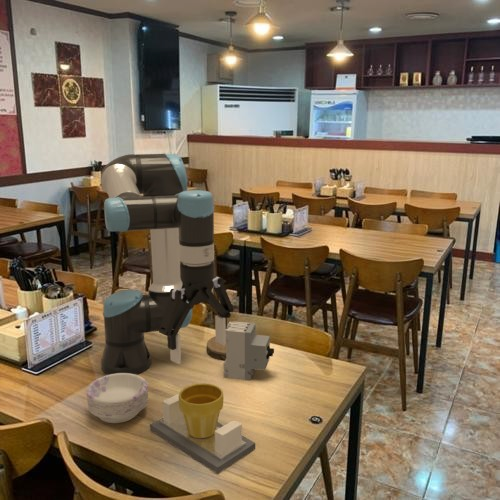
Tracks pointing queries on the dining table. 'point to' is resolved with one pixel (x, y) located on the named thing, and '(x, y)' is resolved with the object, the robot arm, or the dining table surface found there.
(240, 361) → the circuit breaker
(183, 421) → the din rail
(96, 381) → the paper bowls
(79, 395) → the dining table surface
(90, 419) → the dining table surface
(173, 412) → the mounted modules
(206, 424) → the plant pot
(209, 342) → the wood slice
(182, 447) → the mounting plate
